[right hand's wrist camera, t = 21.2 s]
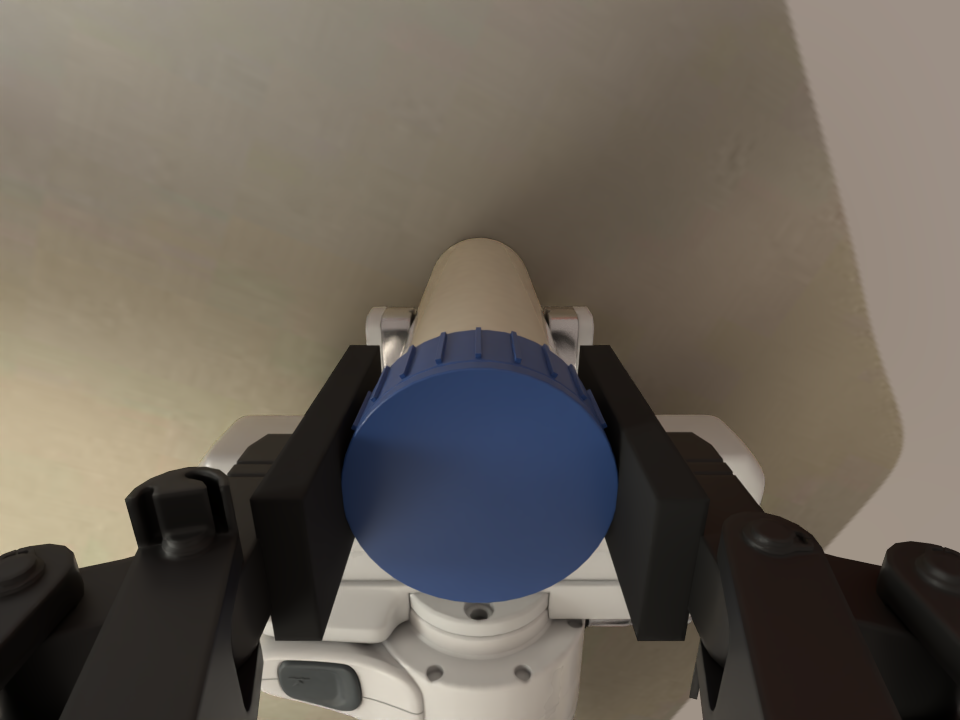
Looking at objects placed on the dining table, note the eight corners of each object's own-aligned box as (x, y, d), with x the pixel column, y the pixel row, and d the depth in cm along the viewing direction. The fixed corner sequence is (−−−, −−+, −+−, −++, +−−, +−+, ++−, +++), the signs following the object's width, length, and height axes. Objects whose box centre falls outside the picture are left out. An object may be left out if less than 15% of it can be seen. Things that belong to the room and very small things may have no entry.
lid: (640, 370, 11) (673, 418, 9) (547, 560, 13) (558, 633, 11) (397, 290, 11) (379, 322, 9) (335, 501, 13) (308, 567, 11)
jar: (416, 316, 25) (336, 531, 11) (449, 222, 24) (403, 333, 10) (508, 348, 26) (542, 592, 12) (545, 259, 24) (636, 414, 10)
